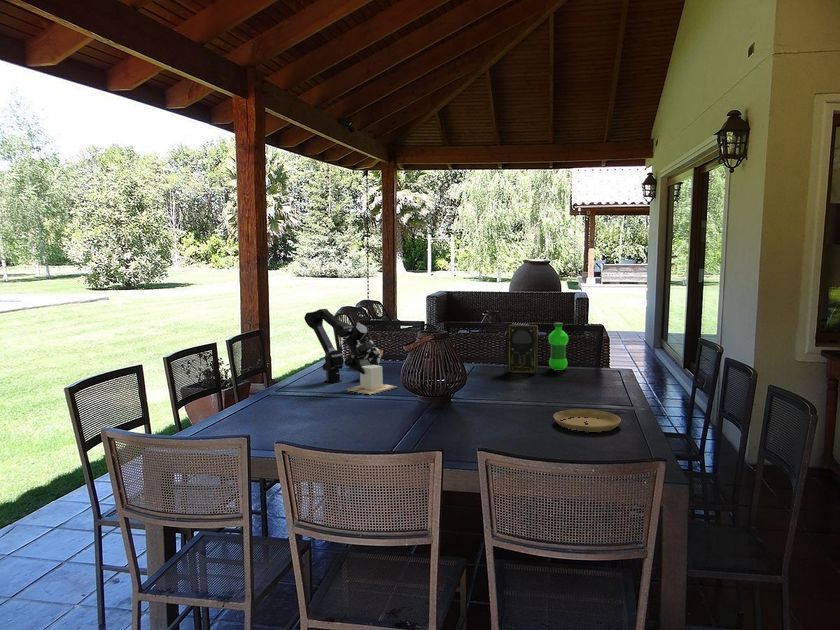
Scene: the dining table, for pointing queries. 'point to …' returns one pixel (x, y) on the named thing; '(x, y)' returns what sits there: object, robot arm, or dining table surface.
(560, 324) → the plastic bottle
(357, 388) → the header board
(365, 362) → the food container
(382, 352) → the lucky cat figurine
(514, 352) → the voltmeter
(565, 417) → the plant saucer
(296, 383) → the dining table surface
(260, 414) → the dining table surface
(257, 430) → the dining table surface
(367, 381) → the block
